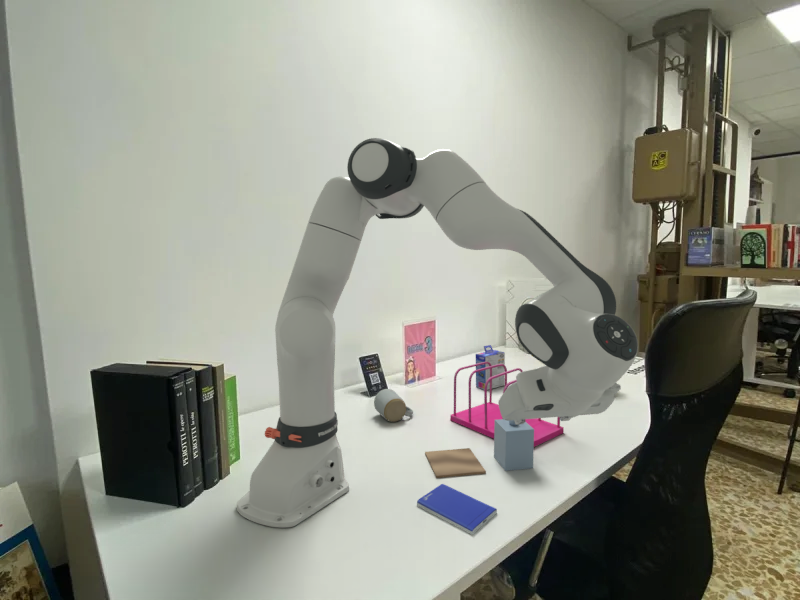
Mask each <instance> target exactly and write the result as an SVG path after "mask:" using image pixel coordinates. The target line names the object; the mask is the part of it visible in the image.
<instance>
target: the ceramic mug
mask: <svg viewBox="0 0 800 600" xmlns="http://www.w3.org/2000/svg"><path fill="white" fill-rule="evenodd" d="M373 406H374V409H375V411H376V412H378V414H379V415H380V416H382V417H383V418H384V419H385V420H386V421H388V422H390V423H391V422H392V423H396V422H398V421H401V420H402V419H403V418H404V416H405V417H408V418H410V417H412V416H413V414H414V410H413V409H411V408H410V407H408V406H407V405H406V402H405V400H403V398H402V397H400V395H399V394H398V393H397V392H396V391H395V390H393V389H391V388H384V389H381V390H379V392H378V393H376V395H375V397H374V400H373Z"/></svg>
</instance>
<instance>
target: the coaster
mask: <svg viewBox="0 0 800 600" xmlns="http://www.w3.org/2000/svg"><path fill="white" fill-rule="evenodd" d="M424 455H425V457H426V459H427V461H428V463H429V465H430V467H431V470H432V472H433V474H434V476H435V478H436V479H438V478H439V479H441V478H442V479H443V478H451V477H461V476H472V475H473V476H475V475H484V474H485V475H486V473H487V470H486V469H485V468H484V466H483V465H482V464H481V462H480V461H479V458H477V457H476V455H475V454H474V452H473V451H472V449H471V448H470V447H467V448H454V449H453V448H452V449H444V450H443V449H442V450H432V451H424Z"/></svg>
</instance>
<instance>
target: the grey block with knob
mask: <svg viewBox="0 0 800 600" xmlns="http://www.w3.org/2000/svg"><path fill="white" fill-rule="evenodd" d="M493 442H494V443H493V457H494V458H495V460H496V462H498V464H499V465H500V467H501V468H502V469H503V470H504V472H508V471H517V470H527V469H529V470H530V469H534V452H535V451H534V450H535V449H534V448H535V447H534V429H533V428H532V427H531V426H530V425H529V424H528V423H526V422H525V423H524V424H519V425H516V424H515V421H514V420H510V421H506V420H504V419H498V420H495V425H494V439H493Z"/></svg>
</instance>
